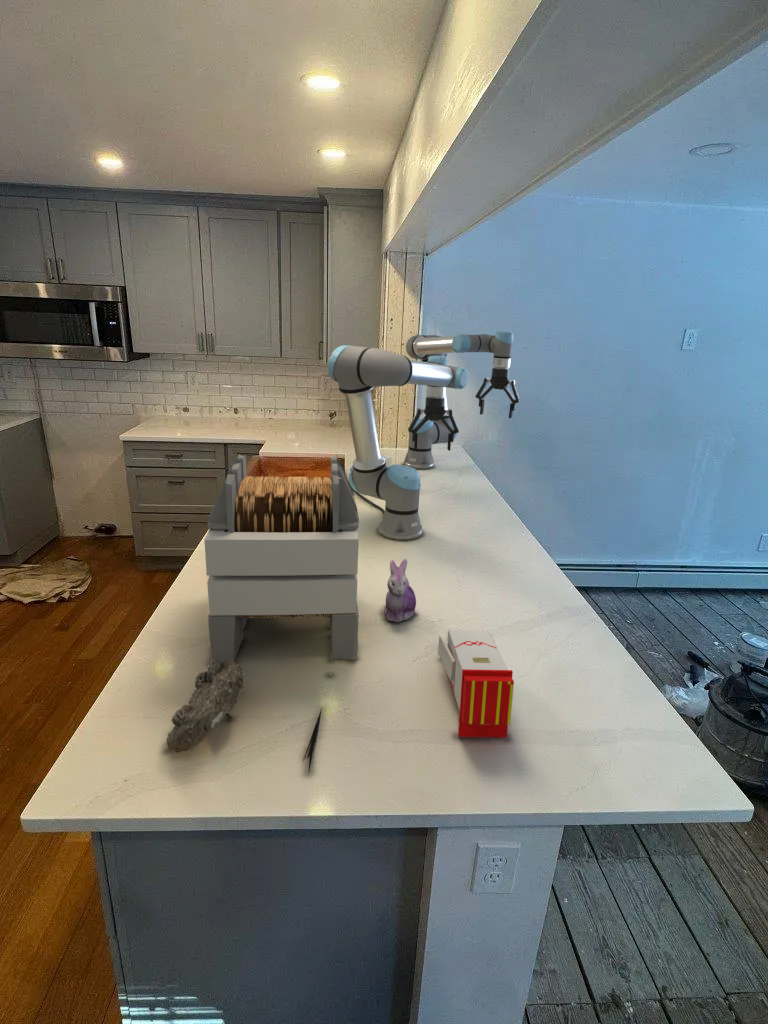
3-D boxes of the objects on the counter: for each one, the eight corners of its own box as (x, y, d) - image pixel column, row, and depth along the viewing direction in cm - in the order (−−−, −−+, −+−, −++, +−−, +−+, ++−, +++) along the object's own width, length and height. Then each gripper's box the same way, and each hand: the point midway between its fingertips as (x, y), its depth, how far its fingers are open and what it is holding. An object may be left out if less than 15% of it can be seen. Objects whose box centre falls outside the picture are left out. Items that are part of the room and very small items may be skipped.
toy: (488, 613, 130) (523, 677, 101) (484, 667, 133) (517, 744, 104) (435, 612, 130) (455, 676, 101) (432, 666, 133) (451, 743, 103)
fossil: (192, 660, 117) (244, 628, 112) (224, 691, 120) (276, 661, 115) (142, 746, 98) (202, 712, 93) (182, 779, 101) (242, 748, 96)
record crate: (230, 591, 155) (223, 445, 141) (350, 589, 159) (354, 447, 145) (208, 664, 123) (195, 486, 109) (358, 660, 127) (363, 487, 113)
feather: (331, 679, 122) (336, 673, 122) (307, 777, 96) (313, 769, 95) (324, 675, 122) (329, 669, 121) (298, 772, 95) (304, 764, 95)
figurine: (392, 627, 141) (395, 572, 136) (374, 608, 149) (376, 556, 144) (425, 619, 145) (429, 566, 140) (405, 601, 154) (408, 550, 149)
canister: (383, 480, 261) (384, 453, 256) (393, 484, 256) (394, 456, 252) (372, 483, 256) (373, 455, 252) (382, 486, 252) (383, 459, 247)
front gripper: (465, 396, 227) (460, 447, 234) (402, 394, 225) (400, 446, 232) (468, 399, 220) (464, 452, 227) (404, 397, 218) (402, 451, 225)
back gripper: (471, 366, 253) (466, 413, 260) (526, 371, 242) (520, 420, 249) (477, 365, 259) (472, 411, 266) (531, 369, 248) (525, 418, 255)
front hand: (432, 449), depth 230 cm, fingers open, 13 cm apart
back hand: (495, 416), depth 258 cm, fingers open, 13 cm apart
